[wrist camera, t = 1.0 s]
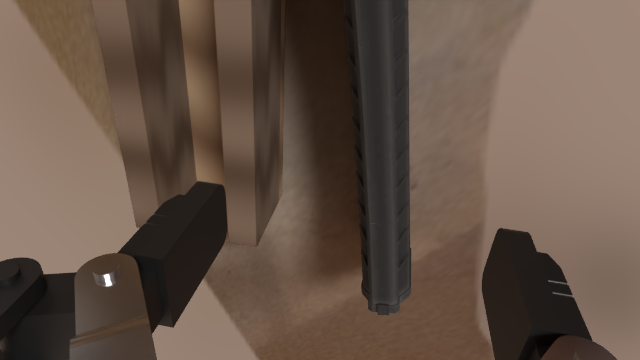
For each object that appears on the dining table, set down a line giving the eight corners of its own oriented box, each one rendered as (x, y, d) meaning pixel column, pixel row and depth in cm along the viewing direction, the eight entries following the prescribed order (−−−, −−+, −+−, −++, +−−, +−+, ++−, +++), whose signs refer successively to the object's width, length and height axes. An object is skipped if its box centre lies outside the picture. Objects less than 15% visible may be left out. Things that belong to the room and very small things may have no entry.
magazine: (410, 352, 30) (402, -265, 8) (363, 348, 30) (246, -231, 9) (411, 174, 41) (408, -278, 20) (376, 174, 42) (338, -263, 21)
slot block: (136, -178, 25) (50, -211, 19) (288, -172, 24) (246, -204, 18) (180, 179, 37) (136, 227, 31) (282, 194, 36) (256, 247, 30)
